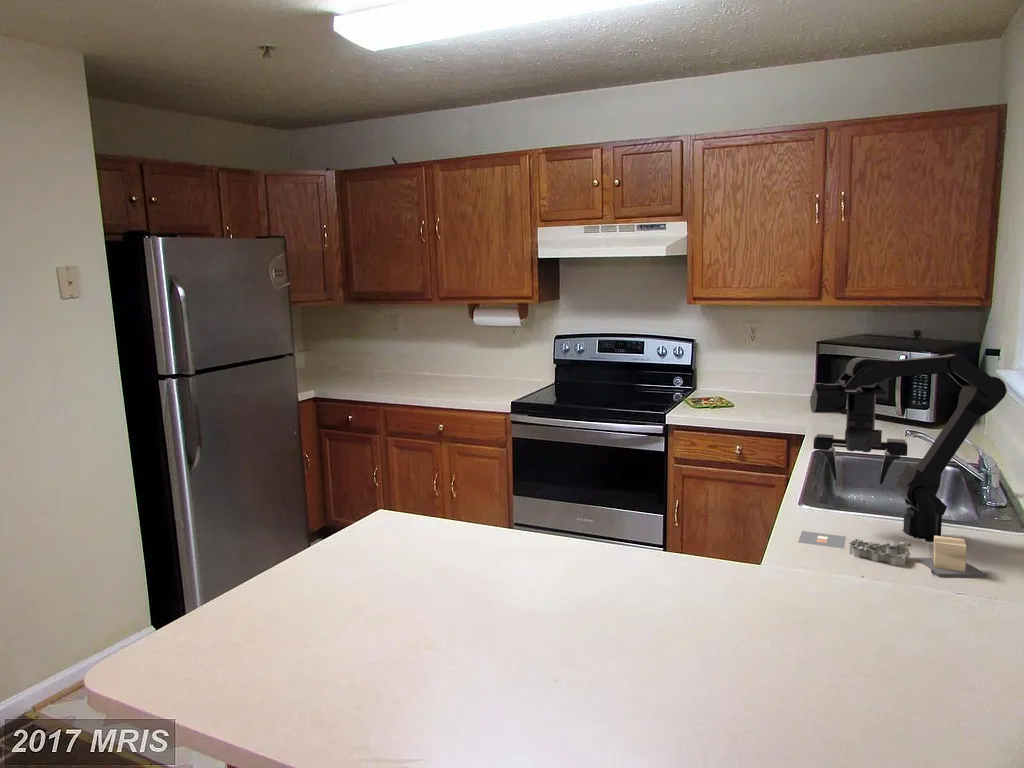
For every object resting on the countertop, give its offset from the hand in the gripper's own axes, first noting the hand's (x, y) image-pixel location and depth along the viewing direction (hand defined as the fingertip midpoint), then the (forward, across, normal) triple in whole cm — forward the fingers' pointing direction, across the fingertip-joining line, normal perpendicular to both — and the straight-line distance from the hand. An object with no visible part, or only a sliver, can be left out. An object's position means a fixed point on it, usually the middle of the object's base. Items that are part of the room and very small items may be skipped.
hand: (857, 482), depth 158 cm
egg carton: (+12, +5, -17) cm, 21 cm away
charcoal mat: (+12, +17, -16) cm, 26 cm away
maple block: (+11, +17, -16) cm, 26 cm away
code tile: (+12, -6, -10) cm, 17 cm away
